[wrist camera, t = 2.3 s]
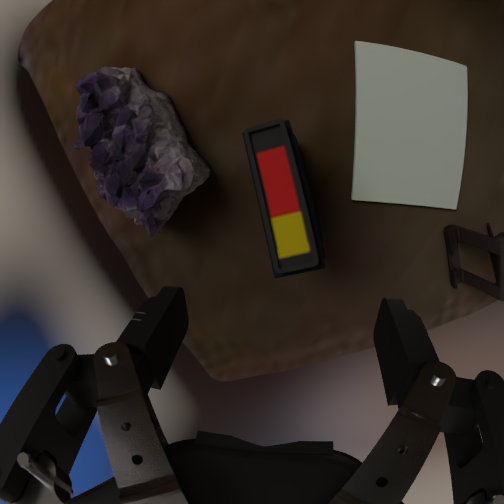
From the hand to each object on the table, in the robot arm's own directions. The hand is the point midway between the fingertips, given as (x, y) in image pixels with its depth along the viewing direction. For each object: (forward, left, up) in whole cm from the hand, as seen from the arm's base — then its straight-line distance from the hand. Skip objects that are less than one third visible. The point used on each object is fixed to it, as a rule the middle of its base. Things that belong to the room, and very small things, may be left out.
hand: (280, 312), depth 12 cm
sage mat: (-7, +14, -23) cm, 28 cm away
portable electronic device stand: (+7, +25, -24) cm, 35 cm away
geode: (-5, -17, -24) cm, 29 cm away
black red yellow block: (0, 0, -24) cm, 24 cm away
